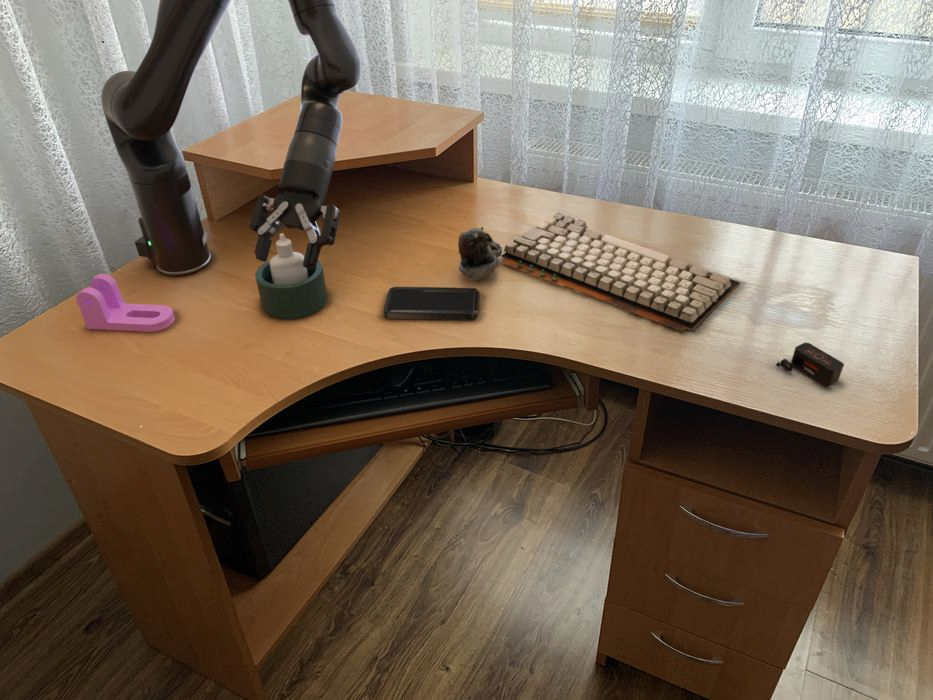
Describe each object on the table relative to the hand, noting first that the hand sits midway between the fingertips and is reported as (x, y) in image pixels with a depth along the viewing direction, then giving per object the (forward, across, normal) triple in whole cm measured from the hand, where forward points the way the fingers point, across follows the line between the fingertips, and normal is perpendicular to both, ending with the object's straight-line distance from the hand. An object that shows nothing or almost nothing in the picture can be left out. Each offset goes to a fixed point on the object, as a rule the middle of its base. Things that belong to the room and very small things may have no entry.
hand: (283, 264), depth 116 cm
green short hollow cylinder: (+5, 0, -6) cm, 8 cm away
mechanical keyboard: (-12, -48, -24) cm, 55 cm away
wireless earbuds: (+1, -79, -11) cm, 80 cm away
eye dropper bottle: (+5, 0, -6) cm, 8 cm away
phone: (+1, -22, -10) cm, 24 cm away
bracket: (+14, +22, +3) cm, 26 cm away
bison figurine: (-8, -26, -20) cm, 34 cm away
